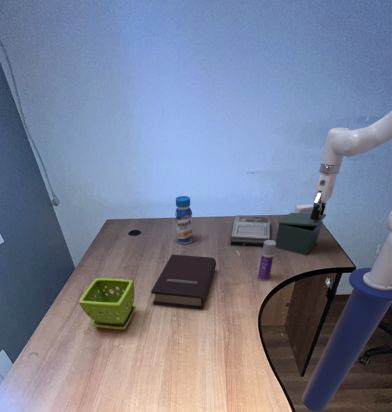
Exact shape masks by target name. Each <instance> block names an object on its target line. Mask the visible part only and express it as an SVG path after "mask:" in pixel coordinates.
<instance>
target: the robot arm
mask: <svg viewBox="0 0 392 412" xmlns="http://www.w3.org/2000/svg"><path fill="white" fill-rule="evenodd" d="M391 139H392V110H391V111H390V112H389V113H387V114H386V115H385V116H383V117H382V118H380V119H377V120H376V121H375V122H374V123H372V124H370V125H368V126H366V127H365V126H364V127H361V128H356V129H351V130H350V128H348V127H333V128H331V129H329V130H328V132H327V135H326V140H325V143H324V148H323V152H322V157H321V161H320V165H319V168H318V174H319V178H318V180H317V184H316V187H315V191H314V195H313V209H312V213H311V217H310V219H312V220H318V218H319V214H320V215H323V214H325V210H326V207H327V202H329V200H330V199H331V198H332V196H333V192H334V188H335V184H336V179H337V175H339V173H340V170H341V167H342V164H343V160H344V157H347V158H350V157H356V156H358V155H361V154H365V153H366V154H367V153H368V152H370V151H372V150H374V149H376V148H378V147H379V146H381V145H383V144H385V143H387V142H388V141H391ZM321 207H322V210H321V212H320V208H321ZM386 225H387V226H386V227H387V229H388V230H389V231H390V232H389V234H388V235H387V237H386V240H385V241H384V242H383V243H384V244H383V245H382V248H381V250H380V252H379V254H378V256H377V257H376V259H375V262H374V263H373V265H372V267H371V268H372V269H371V271H370V272H368V273H366V274H365V275H364V276H363V281H364V282H365V283H366V284H367V285H368V286H370V287H372V288H375V289H379V290H392V210H391V211H390V212H389V214H388V217H387V221H386Z"/></svg>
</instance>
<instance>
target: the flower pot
mask: <svg viewBox="0 0 392 412" xmlns="http://www.w3.org/2000/svg"><path fill="white" fill-rule="evenodd" d="M117 288H118V289H117ZM110 290H111V291H113V293H111V291H110ZM134 303H135V283H134V281H133V279H125V278H110V277H109V278H106V277H97V278H95V279H94V280H93V281H92V282H91V283H90V285H89V286H88V287H87V289H86V290H85V291H84V293H83V294H82V296H81V297H80V299H79V301H78V304H79V306H80V308H81V309H82V310H83V312H84V313H85V314H86V316H88V317H89V318H90V320H93V322H92V323H91V326H93V327H94V328H95V327H96V328H99V329H100V328H101V329H110V330H120V331H125V330H126V328H127V327H128V324H129V323H130V321H131V319H132V317H133V315H134V313H135V311H136V308H137V306H136V305H134Z"/></svg>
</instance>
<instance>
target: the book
mask: <svg viewBox="0 0 392 412" xmlns="http://www.w3.org/2000/svg"><path fill="white" fill-rule="evenodd" d="M216 267H217V261H216V258H214V257H211V256H210V257H209V256H196V255H186V254H185V255H184V254H171V255H170V257H169V258H168V260H167V262H166V264H165V266H164V268H163V269H162V271H161V273H160V274H159V276H158V278H157V280H156V282H155V283H154V285H153V287H152V289H151V290H150V293H151V294H152V295H154V297H155V298H154V300H153V302H152V304H153V305H154V306H155V305H156V306H163V307H172V308H181V309H191V310H203V309H204V307H205V303H206V301H207V296H208V294H209V291H210V287H211V284H212V280H213V276H214V274H215V271H216Z"/></svg>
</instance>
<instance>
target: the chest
mask: <svg viewBox="0 0 392 412" xmlns="http://www.w3.org/2000/svg"><path fill="white" fill-rule="evenodd" d="M322 226H323V220H322V221H321V222H320V223H319V224H318V225H317V226H303V225H288V224H279V223H278V227H277V233H276V238H275V242H276V247H275V248H278V249H282V250H285V251H289V252H293V253H296V254H301V255H305V256H307V254H309V252H310V251H311V250H312V249H313V248H314V247H315V246H316V244H317V241H318V238H319V234H320V232H321V229H322Z"/></svg>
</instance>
